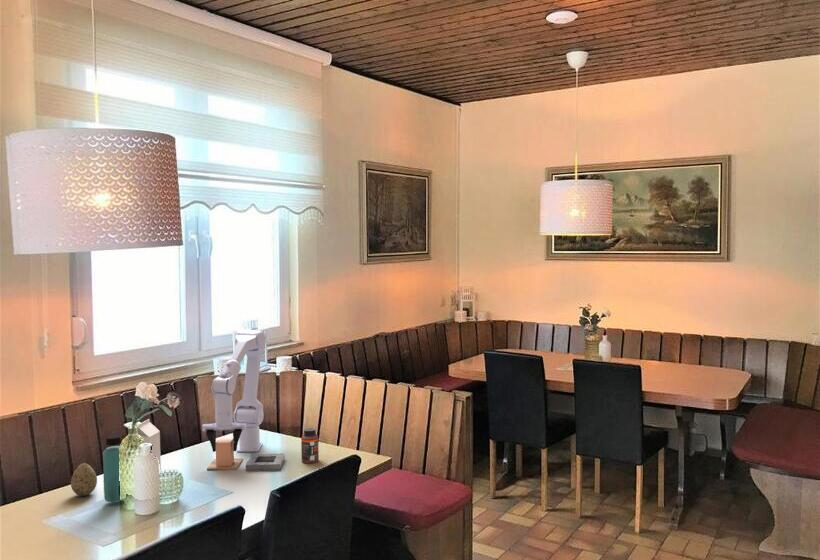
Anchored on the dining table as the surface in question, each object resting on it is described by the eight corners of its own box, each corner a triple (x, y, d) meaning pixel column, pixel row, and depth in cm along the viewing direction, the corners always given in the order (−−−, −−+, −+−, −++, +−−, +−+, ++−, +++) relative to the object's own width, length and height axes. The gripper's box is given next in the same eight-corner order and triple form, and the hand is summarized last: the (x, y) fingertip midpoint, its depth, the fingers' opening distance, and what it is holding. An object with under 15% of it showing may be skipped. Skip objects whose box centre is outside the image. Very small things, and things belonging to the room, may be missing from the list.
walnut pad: (213, 460, 236) (213, 459, 236) (242, 460, 237) (242, 458, 237) (207, 470, 226) (206, 468, 226) (236, 469, 227) (236, 467, 227)
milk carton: (161, 475, 221) (159, 418, 220) (150, 483, 214) (149, 424, 213) (140, 475, 222) (138, 418, 221) (129, 482, 215) (127, 424, 214)
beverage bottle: (119, 508, 194) (116, 440, 193) (98, 506, 196) (96, 439, 195) (132, 499, 201) (130, 433, 200) (112, 498, 202) (110, 432, 201)
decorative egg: (81, 490, 209) (80, 458, 208) (102, 491, 208) (101, 459, 207) (66, 499, 202) (64, 466, 201) (87, 500, 200) (86, 467, 200)
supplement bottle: (317, 463, 232) (316, 431, 231) (300, 463, 232) (299, 431, 232) (319, 458, 238) (319, 426, 237) (303, 458, 238) (302, 426, 238)
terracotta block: (219, 461, 234) (218, 438, 233) (234, 460, 234) (233, 438, 234) (216, 465, 229) (215, 442, 228) (230, 465, 229) (230, 442, 229)
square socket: (251, 460, 237) (251, 454, 237) (284, 459, 237) (284, 453, 237) (245, 471, 225) (245, 465, 225) (280, 470, 226) (280, 464, 226)
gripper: (199, 415, 226) (200, 454, 227) (243, 414, 227) (243, 453, 228) (204, 410, 233) (205, 448, 234) (246, 409, 234) (247, 447, 235)
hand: (224, 450), depth 231 cm, fingers open, 6 cm apart
